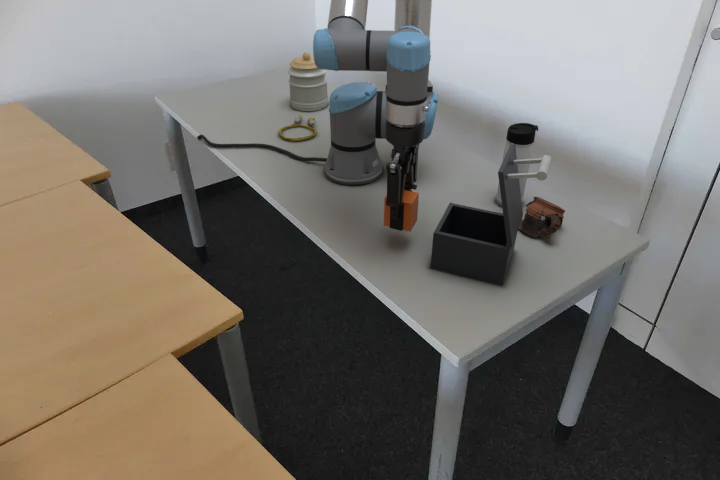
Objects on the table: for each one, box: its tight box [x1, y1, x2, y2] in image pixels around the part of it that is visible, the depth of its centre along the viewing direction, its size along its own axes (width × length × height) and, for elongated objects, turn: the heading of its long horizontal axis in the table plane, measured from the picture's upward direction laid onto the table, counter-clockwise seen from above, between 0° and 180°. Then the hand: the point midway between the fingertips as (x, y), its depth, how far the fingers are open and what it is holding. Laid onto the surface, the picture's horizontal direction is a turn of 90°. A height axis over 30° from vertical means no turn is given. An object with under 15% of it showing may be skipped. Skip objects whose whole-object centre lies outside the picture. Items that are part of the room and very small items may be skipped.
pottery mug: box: [518, 196, 566, 239], centre depth 121 cm, size 12×10×8 cm
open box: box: [430, 202, 518, 287], centre depth 111 cm, size 15×12×9 cm
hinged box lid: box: [497, 144, 553, 247], centre depth 101 cm, size 16×12×8 cm
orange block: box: [383, 190, 420, 233], centre depth 114 cm, size 6×5×7 cm
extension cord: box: [278, 115, 318, 142], centre depth 167 cm, size 12×16×2 cm
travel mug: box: [495, 122, 539, 207], centre depth 127 cm, size 6×7×20 cm
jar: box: [287, 51, 329, 112], centre depth 181 cm, size 13×13×18 cm
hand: (400, 221), depth 116 cm, fingers closed on orange block, 5 cm apart
